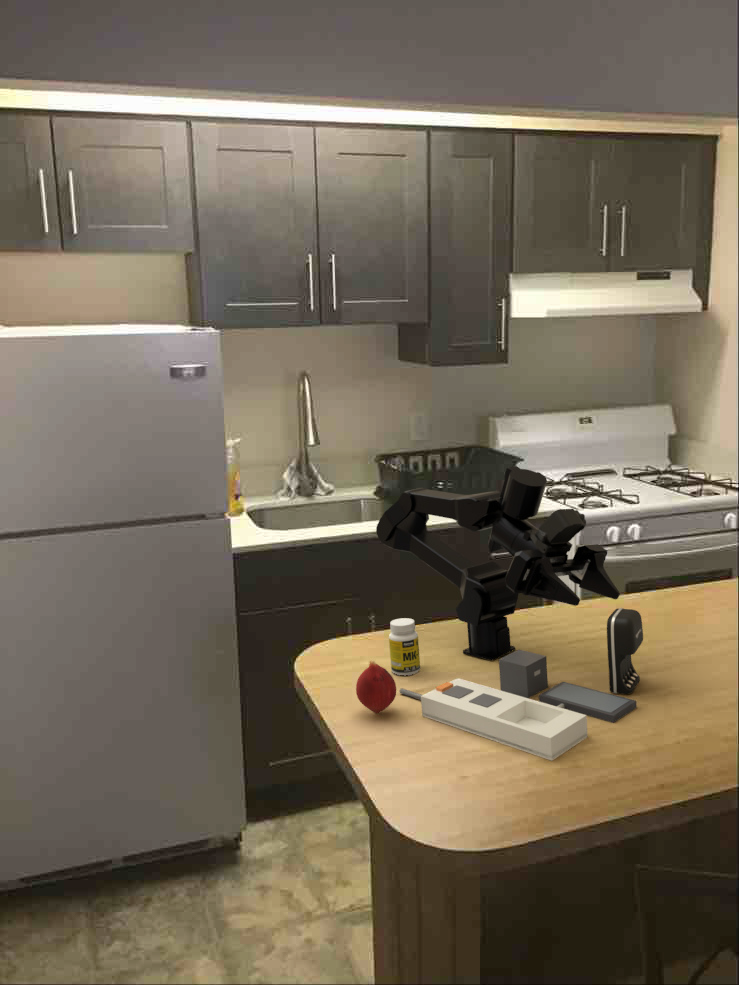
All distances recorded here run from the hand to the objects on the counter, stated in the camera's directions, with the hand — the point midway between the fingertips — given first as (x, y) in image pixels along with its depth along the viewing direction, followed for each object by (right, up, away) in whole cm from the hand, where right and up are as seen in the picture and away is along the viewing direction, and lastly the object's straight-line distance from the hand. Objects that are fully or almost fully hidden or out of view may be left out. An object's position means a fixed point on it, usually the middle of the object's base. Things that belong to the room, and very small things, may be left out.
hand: (598, 599), depth 120 cm
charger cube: (-9, -14, +6) cm, 18 cm away
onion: (-31, -17, +2) cm, 36 cm away
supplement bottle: (-27, -14, +18) cm, 35 cm away
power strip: (-18, -16, -2) cm, 24 cm away
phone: (-4, -15, -3) cm, 16 cm away
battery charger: (+5, -14, +3) cm, 15 cm away
